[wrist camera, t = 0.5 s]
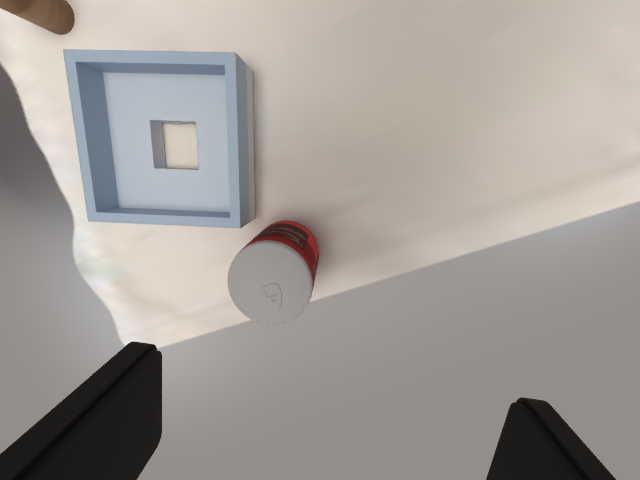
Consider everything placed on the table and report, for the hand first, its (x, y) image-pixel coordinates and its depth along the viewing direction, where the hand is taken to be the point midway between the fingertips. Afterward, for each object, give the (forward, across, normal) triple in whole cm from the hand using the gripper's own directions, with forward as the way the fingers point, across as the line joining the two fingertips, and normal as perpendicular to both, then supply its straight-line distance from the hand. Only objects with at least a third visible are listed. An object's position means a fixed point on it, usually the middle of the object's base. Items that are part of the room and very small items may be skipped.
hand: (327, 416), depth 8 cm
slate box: (+30, +18, -6) cm, 35 cm away
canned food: (+30, +5, +5) cm, 31 cm away
